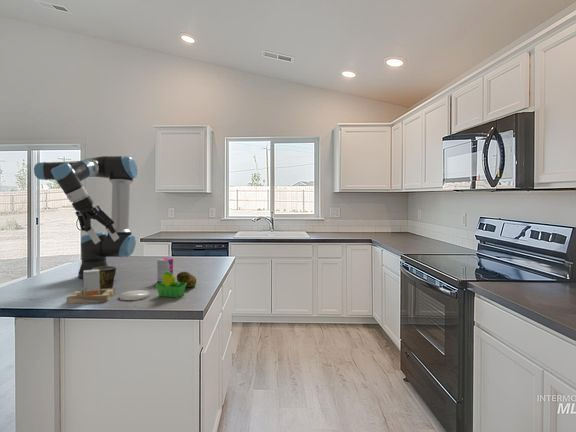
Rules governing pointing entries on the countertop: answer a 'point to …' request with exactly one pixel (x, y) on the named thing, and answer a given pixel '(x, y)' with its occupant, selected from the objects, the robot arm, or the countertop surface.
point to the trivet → (134, 295)
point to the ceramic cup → (106, 276)
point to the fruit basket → (170, 286)
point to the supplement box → (164, 268)
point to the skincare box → (91, 282)
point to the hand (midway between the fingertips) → (107, 241)
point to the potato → (186, 279)
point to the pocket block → (90, 296)
